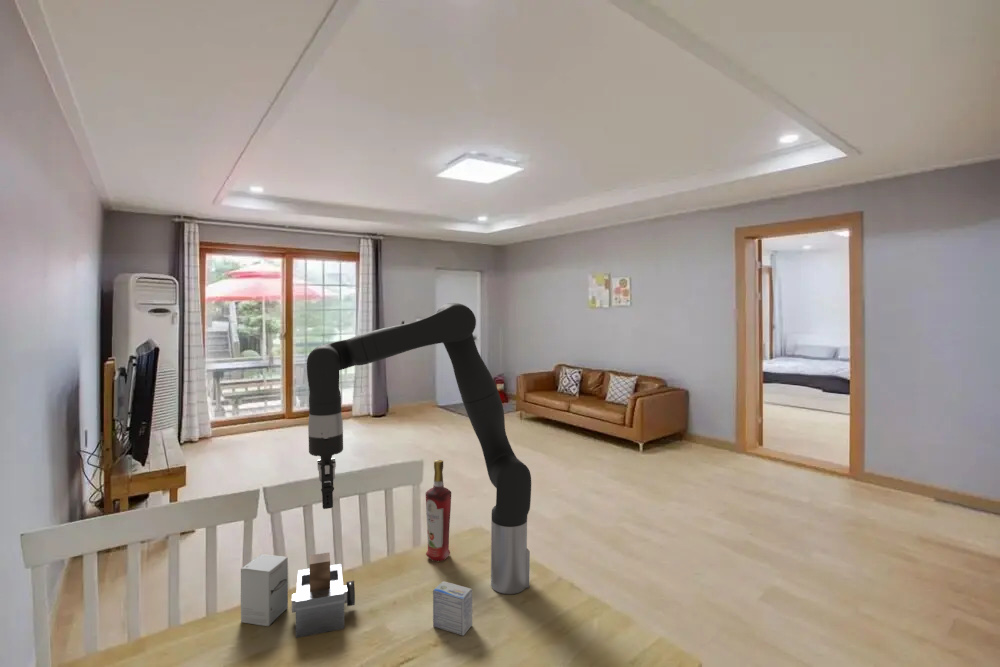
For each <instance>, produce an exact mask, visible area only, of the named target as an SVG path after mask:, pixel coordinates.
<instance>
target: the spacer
mask: <svg viewBox="0 0 1000 667" xmlns="http://www.w3.org/2000/svg"><path fill="white" fill-rule="evenodd" d="M330 554H331V553H330V552H323V553H316V554H310V555H309V568H310V592H314V591H320V590H326V589H330V565H331V555H330Z"/></svg>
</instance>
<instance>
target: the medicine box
mask: <svg viewBox="0 0 1000 667" xmlns="http://www.w3.org/2000/svg"><path fill="white" fill-rule="evenodd" d="M432 614H433V615H432V626H433V627H434V628H438V629H441V630H443V631H447V632H449V633H450V632H451V633H453V634H457V635H460V636H465V634H466V633H468V631H469V630H470V628H471V627H472V625H473V589H472V588H470V587H466V586H463V585H459V584H455V583H452V582H447V581H444V580H443V581H441V583H439V584H438V585H437V586H436V587H435V588H434V589H433V590H432Z"/></svg>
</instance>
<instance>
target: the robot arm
mask: <svg viewBox="0 0 1000 667" xmlns="http://www.w3.org/2000/svg"><path fill="white" fill-rule="evenodd" d="M476 326H477V319H476V316H475V314H474V312H473V311H472V309H470V308H469V307H468V306H467V305H466V304H462V303H458V302H449V303H445V304H443V305H441V306H440V307H439V308H438V309H437V311H436V313H434V314H432V315H429V316H427V317H424V318H422V319H418V320H415V321H411V322H407V323H403V324H397V325H393V326H389V327H384V328H380V329H379V328H378V329H376V330H371V331H368V332H364V333H362V334H357V335H355V336H353V337H350V338H348V339H343V340H338V341H333V342H329V343H325V344H322V345H319V346H317V347H315V348H314V349H313V350H311V351H310V352H309V354H308V356H307V359H306V375H307V382H308V390H309V392H308V395H309V396H308V410H309V411H308V414H309V415H308V421H307V422H308V424H307V425H308V428H307V429H308V430H307V431H308V432H307V434H308V453H309V454H310V455H311V456H314V457H320V459H317V472H318V482H319V484H321V488H320V492H321V497H322V502H321V503H322V504H321V505H322V509H323V510H326V509H327V510H328V509H332V508H333V507H334V495H333V494H334V493H333V492H334V490H335V487H334V482H335V481H336V469H337V467H336V466H337V464H336V462H337V461H336V458H335V457H333V456H334V455H338V454H341V453H342V452H343V450H344V429H343V428H344V426H343V424H344V422H343V421H344V420H343V416H342V394H341V393H342V392H341V390H340V371H343V370H345V369H349V368H351V367H355V366H364V365H368V364H371V363H375V362H379V361H381V360H385V359H387V358H388V359H389V358H390V357H394V356H396V355H401V354H403V353H405V352H409V351H412V350H416V349H418V348H423V347H428V346H432V345H433V346H434V345H437V344H438V345H439V344H443V346H444V349H445V350H446V353H447V354H448V358H449V359H450V362H451V365H452V369H453V374H454V377H455V380H456V384H457V387H458V388H457V389H458V391H459V393H460V397H461V400H462V403H463V405H464V409H465V411H466V414H467V416H468V419H469V421H470V423H471V426H472V429H473V431H474V433H475V435H476V438H477V439H478V441H479V444H480V446H481V450H482V453H483V457H484V461H485V466H486V470H487V475H488V478H489V481H490V482H491V484H492V486H494V488H495V489H496V492H495V493H496V497H495V498H496V499H495V505H494V506H493V507H492V509H491V527H490V528H491V530H490V531H491V533H490V534H491V538H490V540H491V541H490V542H491V545H490V547H491V548H490V587H491V588H492V589H493V590H494V591H495V592H498V593H500V594H503V595H514V594H519V593H522V592H523V591H524V590H526V589H529V588H530V568H531V567H530V565H531V564H530V563H531V562H530V561H531V560H530V557H531V553H530V550H529V549H528V515H529V513H530V510H531V500H532V498H531V497H532V474H531V471H530V469H529V467H528V466H527V465H526V464H525V463H523V461H521V460H520V459H519V458H518V457H517V456H516V453H515V452H514V450H513V448H512V446H511V444H510V442H509V438H508V435H507V432H506V424H505V411H504V410H505V409H504V405H503V402H502V399H501V396H500V393H499V390H498V386H497V384H496V383H495V380H494V378H493V376H492V374H491V372H490V370H489V369H488V367H487V365H486V363H485V362H484V360H483V359H482V356H481V355H480V352H479V350H478V347H477V345H476V341H475V337H474V335H473V333H474V331H475V330H476ZM332 457H333V458H332Z"/></svg>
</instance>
